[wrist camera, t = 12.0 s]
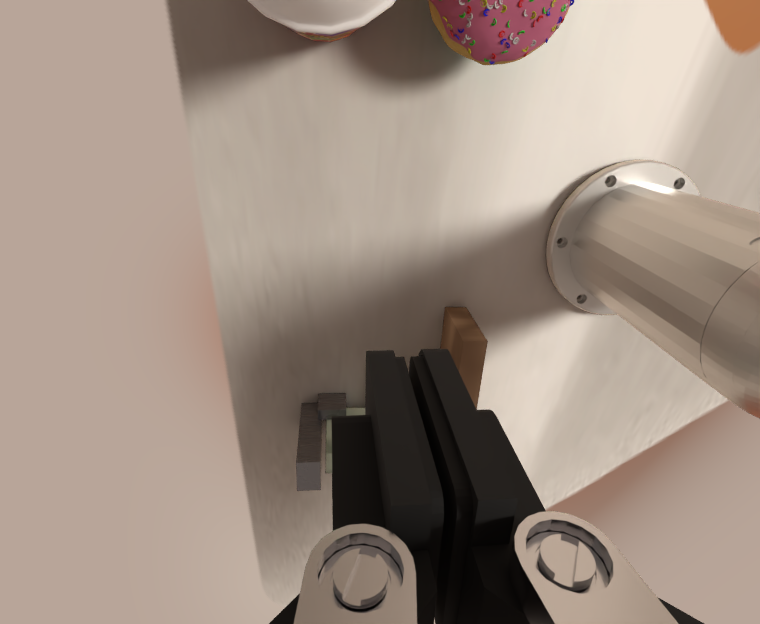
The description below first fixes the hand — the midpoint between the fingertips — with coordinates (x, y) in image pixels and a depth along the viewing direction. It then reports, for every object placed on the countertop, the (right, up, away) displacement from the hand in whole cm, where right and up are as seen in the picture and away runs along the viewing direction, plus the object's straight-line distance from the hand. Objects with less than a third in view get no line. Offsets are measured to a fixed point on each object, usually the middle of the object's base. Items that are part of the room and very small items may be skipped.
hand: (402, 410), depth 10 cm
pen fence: (+6, -3, +32) cm, 33 cm away
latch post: (-6, -7, +33) cm, 34 cm away
